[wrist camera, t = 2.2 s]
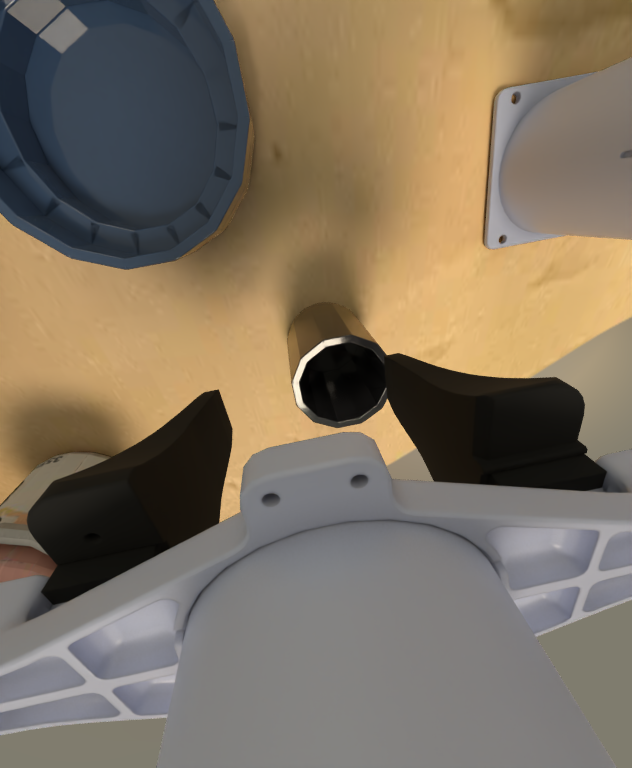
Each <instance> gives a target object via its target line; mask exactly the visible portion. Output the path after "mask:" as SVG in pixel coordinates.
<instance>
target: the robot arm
mask: <svg viewBox="0 0 632 768" xmlns="http://www.w3.org/2000/svg"><path fill="white" fill-rule="evenodd" d="M513 94H514V95H515V96H516V101H515V104H513V103H512V102H511V98H512V95H513ZM566 235H570V236H585V237H599V238H614V239H629V240H632V57H631V58H628V59H626V60H624V61H622V62H619V63H617V64H615V65H613V66H610V67H608V68H606V69H603V70H601V71H599V72H593V73H588V74H582V75H576V76H571V77H565V78H559V79H554V80H548V81H543V82H537V83H531V84H526V85H520V86H514V87H509V88H506V89H503V90H502V91H500V92H499V93H498V94H497V96H496V98H495V101H494V110H493V124H492V139H491V153H490V167H489V181H488V195H487V209H486V223H485V238H484V245H485V247H486V248H488V249H498V248H503V247H508V246H514V245H519V244H524V243H529V242H535V241H540V240H545V239H550V238H556V237H561V236H566ZM500 236H503V240H502V241H501V243H499V238H500ZM384 364H385V376H386V389H387V398H388V400H389V402H390V405H391V407H392V409H393V411H394V413H395V415H396V417H397V418H398V420H399V421H400V423H401V425H402V426H403V428H404V429H405V431H406V432H407V434H408V435H409V437H410V438H411V440H412V441H413V443H414V444H415V446H416V447H417V449H418V451H419V452H420V454H421V456H422V458H423V460H424V462H425V464H426V466H427V468H428V470H429V472H430V474H431V476H432V478H433V480H434V482H433V481H417V480H401V479H391V476H390V474H389V472H388V469H387V467H386V465H385V462H384V460H383V458H382V456H381V453H380V451H379V449H378V447H377V445H376V443H375V441H374V439H372V438H370V437H368V436H366V435H364V434H363V433H361V432H342V433H337V434H332V435H328V436H323V437H318V438H313V439H308V440H303V441H299V442H294V443H289V444H284V445H279V446H274V447H269V448H267V449H265V450H262V451H260V452H258V453H256V454H253V455H252V456H251V458H250V459H249V460H248V462H247V463H246V464H245V466H244V467H243V475H242V483H241V491H240V510H241V512H240V513H238V514H236V515H234V516H232V517H230V518H228V519H226V520H224V521H222V522H220V523H219V519H220V507H221V497H222V491H223V486H224V481H225V477H226V472H227V467H228V463H229V458H230V453H231V448H232V426H231V423H230V420H229V417H228V415H227V412H226V409H225V406H224V403H223V400H222V398H221V395H220V392H219V390H214V391H209V392H204V393H203V394H201V395H200V396H199V397H197V398H196V399H195V400H194V401H193V402H191V403H190V404H189V405H188V406H187V407H186V408H185V409H183V410H182V411H181V412H180V413H179V414H178V415H176V416H175V417H174V418H173V419H171V420H170V421H169V422H168V423H166V424H165V425H164V426H163V427H161V428H160V429H159V430H157V431H156V432H154V433H153V434H152V435H150V436H148V437H147V438H145V439H144V440H142V441H141V442H139V443H137V444H136V445H134V446H132V447H130V448H128V449H127V450H125V451H123V452H121V453H119V454H117V455H115V456H113V457H111V458H109V459H107V460H105V461H103V462H101V463H98V464H96V465H94V466H91V467H89V468H87V469H84V470H81V471H79V472H76V473H73V474H71V475H68V476H65V477H63V478H60V479H57V480H54V481H53V482H52V483H51V484H50V485H49V487H48V488H47V489H46V490H45V492H44V493H43V494H42V495H41V496H40V498H39V499H38V500H37V501H36V502H35V504H34V505H33V506H32V508H31V509H30V510H29V511H28V516H27V525H28V529H29V531H30V533H31V534H32V536H33V537H34V539H35V540H36V541H37V543H38V544H39V545H40V546H41V547H42V548H43V549H44V551H45V552H46V553H47V554H48V555H49V556H50V558H51V559H52V560H53V561H54V562H55V563H56V565H57V567H56V568H55V570H54V572H53V573H52V575H51V576H50V577H48V576H44V575H33V576H29V577H24V578H19V579H15V580H10V581H5V582H1V583H0V735H4V734H9V733H15V732H20V731H25V730H31V729H38V728H45V727H52V726H59V725H70V724H81V723H92V722H106V721H121V720H136V719H152V718H167V720H166V725H165V729H164V734H163V739H162V743H161V748H160V753H159V757H158V762H157V767H156V768H617V767H616V765H615V764H614V762H613V761H612V759H611V757H610V756H609V754H608V753H607V751H606V749H605V748H604V746H603V744H602V743H601V741H600V740H599V738H598V736H597V735H596V733H595V731H594V730H593V728H592V727H591V725H590V723H589V722H588V720H587V719H586V717H585V715H584V714H583V712H582V710H581V709H580V707H579V706H578V704H577V702H576V701H575V699H574V698H573V696H572V694H571V693H570V691H569V689H568V688H567V686H566V685H565V683H564V681H563V680H562V678H561V677H560V675H559V673H558V672H557V670H556V669H555V667H554V665H553V664H552V662H551V660H550V659H549V657H548V656H547V654H546V652H545V651H544V649H543V648H542V646H541V645H540V643H539V641H538V640H537V638H536V637H537V636H539V635H542V634H545V633H547V632H550V631H552V630H555V629H557V628H560V627H562V626H565V625H567V624H570V623H572V622H575V621H578V620H580V619H583V618H585V617H588V616H590V615H592V614H595V613H598V612H600V611H603V610H605V609H608V608H611V607H613V606H616V605H619V604H621V603H624V602H627V601H630V600H632V449H629V450H624V451H619V452H615V453H610V454H606V455H603V456H601V457H599V458H598V459H597V460H596V461H595V462H594V461H593V460H591V459H590V458H589V457H588V456H586V455H585V453H587V448H586V446H584V445H583V444H582V443H580V442H579V441H578V440H577V439H578V435H579V432H580V428H581V424H582V420H583V416H584V408H585V404H584V400H583V397H582V395H581V394H580V393H579V391H578V390H577V389H575V388H573V387H572V386H570V385H568V384H567V383H565V382H563V381H562V380H560V379H558V378H556V377H552V378H551V377H550V378H497V377H487V376H478V375H471V374H466V373H461V372H456V371H452V370H448V369H445V368H441V367H438V366H435V365H431V364H428V363H426V362H423V361H420V360H417V359H415V358H412V357H409V356H406V355H403V354H399V353H397V354H392V355H387V356H384Z"/></svg>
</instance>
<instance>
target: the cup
mask: <svg viewBox="0 0 632 768" xmlns="http://www.w3.org/2000/svg"><path fill="white" fill-rule="evenodd" d="M287 345H288V354H289V364H290V374H291V383H292V388H293V392H294V397H295V401H296V405H297V407H298V408H299V409H301V410H302V411H303V412H304V413H305V414H306V415H307V416H308V417H309V418H310V419H311V420H312V421H313V422H315V423H319V424H323V425H327V426H331V427H335V428H340V427H345V426H350V425H355V424H360V423H363V422H364V421H365V420H367V419H368V418H370V417H371V416H372V415H374V414H375V413H376V412H378V411H379V410H381V409H382V408H383V406H384V404H385V402H386V400H387V389H386V376H385V364H384V356H387V355H386V354H385V352H384V351H383V350H382V349H381V347H380V346H379V345H378V343H377V342H376V341H375V340H374V338H373V337H372V336H371V335H370V333H369V332H368V331H367V330H366V329H365V327H364V326H363V325H362V324H361V322H360V321H359V320H358V319H357V317H356V316H355V315H354V314H353V312H352V311H351V310H350V309H347V308H346V307H344V306H342V305H339V304H336V303H330V302H323V303H317V304H314V305H311V306H309V307H307V308H306V309H304V310H303V311H302V312H300V313H299V314H298V315H297V317H296V318H295V319H294V321H293V322H292V324H291V327H290V330H289V334H288V338H287Z"/></svg>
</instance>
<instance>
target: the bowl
mask: <svg viewBox="0 0 632 768" xmlns="http://www.w3.org/2000/svg"><path fill="white" fill-rule="evenodd" d="M254 140H255V137H254V130H253V125H252V120H251V115H250V110H249V105H248V100H247V95H246V90H245V85H244V80H243V76H242V71H241V67H240V63H239V58H238V54H237V49H236V45H235V41H234V38H233V36H232V34H231V32H230V30H229V28H228V27H227V25H226V23H225V21H224V19H223V17H222V15H221V13H220V12H219V10H218V8H217V6H216V4H215V2H214V0H0V213H1V214H2V215H3V216H4V217H5V218H6V219H7V220H8V221H9V222H10V223H11V224H13V226H15V227H17V228H19V229H20V230H22V231H24V232H26V233H27V234H29V235H31V236H33V237H34V238H36V239H38V240H40V241H41V242H43V243H45V244H47V245H48V246H50V247H52V248H53V249H55V250H57V251H59V252H60V253H62V254H64V255H66V256H67V257H69V258H72V259H76V260H81V261H86V262H91V263H96V264H100V265H105V266H110V267H115V268H120V269H125V270H126V269H127V270H129V269H134V268H139V267H145V266H150V265H156V264H161V263H166V262H172V261H176V260H178V259H180V258H183V257H185V256H187V255H189V254H191V253H193V252H195V251H197V250H198V249H199V248H201V247H202V246H203V245H205V244H206V243H208V242H209V241H210V240H212V239H213V238H214V237H216V236H217V235H218V234H220V233H221V232H223V231H224V230H225V229H226V228H227V227H228V225H229V223H230V222H231V220H232V218H233V216H234V214H235V213H236V211H237V209H238V207H239V205H240V203H241V202H242V200H243V198H244V196H245V194H246V193H247V191H248V188H249V180H250V172H251V164H252V156H253V148H254Z"/></svg>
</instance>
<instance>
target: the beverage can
mask: <svg viewBox="0 0 632 768" xmlns="http://www.w3.org/2000/svg"><path fill="white" fill-rule="evenodd" d="M109 458H111V457H110V456H106V455H102V454H98V453H92V452H70V453H66V454H61V455H56V456H54V457H52V458H50V459H48V460H46V461H45V462H43V463H41V464H39V465H38V466H37V467H36V468H35V469H34V470H33V471H32V472H31V473H30V474H29V475H28V476H27V477H26V478H25V479H24V481H23V482H22V483H21V484H20V485H19V486H18V487H17V488H16V489H15V490H14V491H13V492H12V493H11V494H10V495H9V496H8V497H7V499H6V500H5V501H4V502H3V503H2V504H1V505H0V583H1V582H5V581H10V580H15V579H19V578H24V577H29V576H33V575H44V576H48V577H50V576H51V575H52V573H53V572H54V570H55V568H56V567H57V565H56V563H55V562H54V561H53V560H52V559H51V558H50V556H49V555H48V554H47V553H46V552H45V551H44V549H43V548H42V547H41V546H40V545H39V544H38V543H37V541H36V540H35V539H34V537H33V536H32V534H31V533H30V531H29V529H28V525H27V516H28V511H29V510H30V509H31V508H32V506H33V505H34V504H35V502H36V501H37V500H38V499H39V498H40V496H41V495H42V494H43V493H44V492H45V490H46V489H47V488H48V487H49V485H50V484H51V483H52V482H53V481H54V480H57V479H60V478H63V477H65V476H68V475H71V474H73V473H76V472H79V471H81V470H84V469H87V468H89V467H91V466H94V465H96V464H98V463H101V462H103V461H105V460H107V459H109Z"/></svg>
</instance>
